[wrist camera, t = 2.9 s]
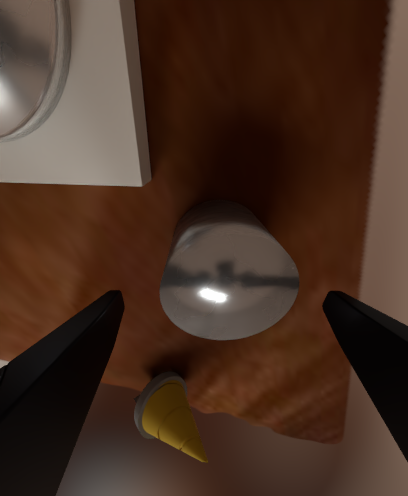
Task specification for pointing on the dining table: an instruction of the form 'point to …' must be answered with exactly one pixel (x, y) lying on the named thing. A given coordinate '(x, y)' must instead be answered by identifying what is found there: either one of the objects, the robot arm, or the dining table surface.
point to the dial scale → (71, 94)
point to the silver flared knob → (226, 274)
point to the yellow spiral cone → (168, 415)
